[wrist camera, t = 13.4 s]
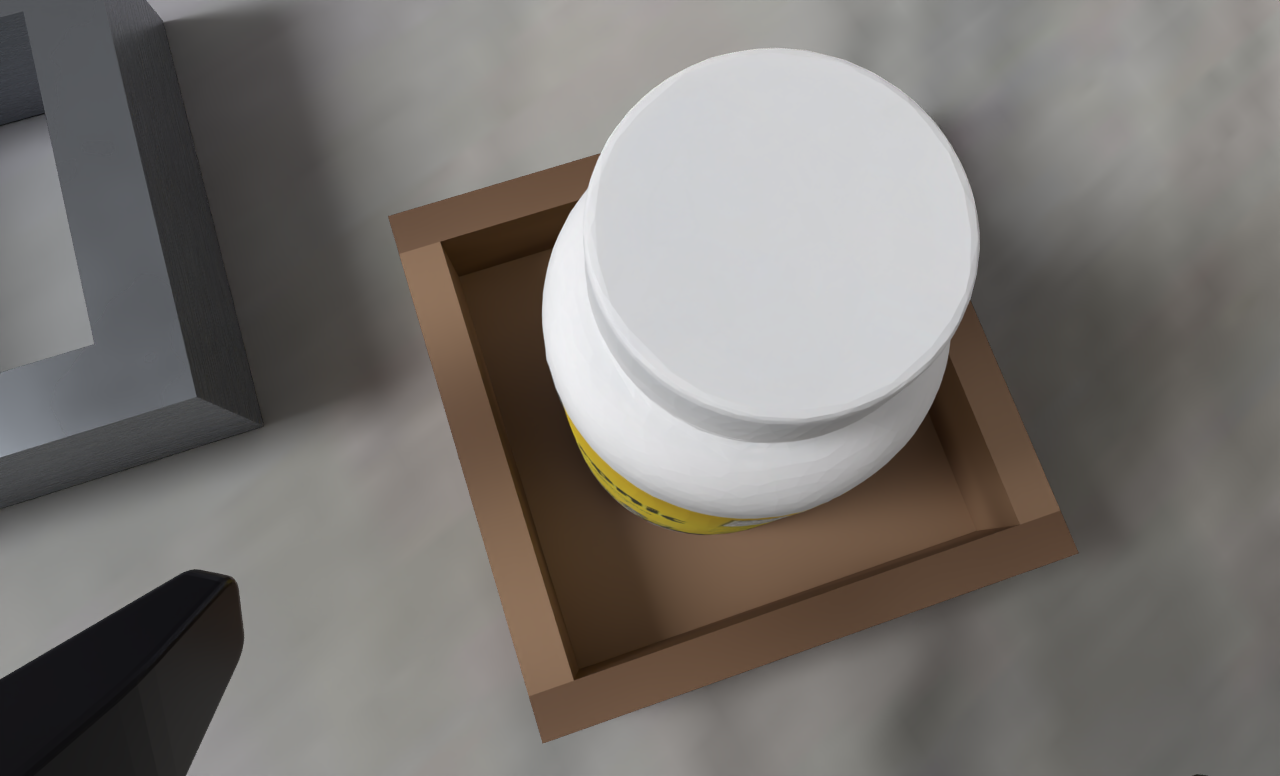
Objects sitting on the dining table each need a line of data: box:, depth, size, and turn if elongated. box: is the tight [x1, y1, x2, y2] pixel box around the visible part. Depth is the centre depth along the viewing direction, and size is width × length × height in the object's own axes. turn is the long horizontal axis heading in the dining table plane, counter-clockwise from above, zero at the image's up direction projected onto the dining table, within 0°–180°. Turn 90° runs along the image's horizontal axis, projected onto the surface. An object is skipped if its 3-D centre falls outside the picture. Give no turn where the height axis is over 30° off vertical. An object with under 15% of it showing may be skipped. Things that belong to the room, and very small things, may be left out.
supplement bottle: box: [542, 48, 980, 535], centre depth 14 cm, size 5×5×10 cm
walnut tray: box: [388, 153, 1078, 743], centre depth 18 cm, size 10×10×2 cm
